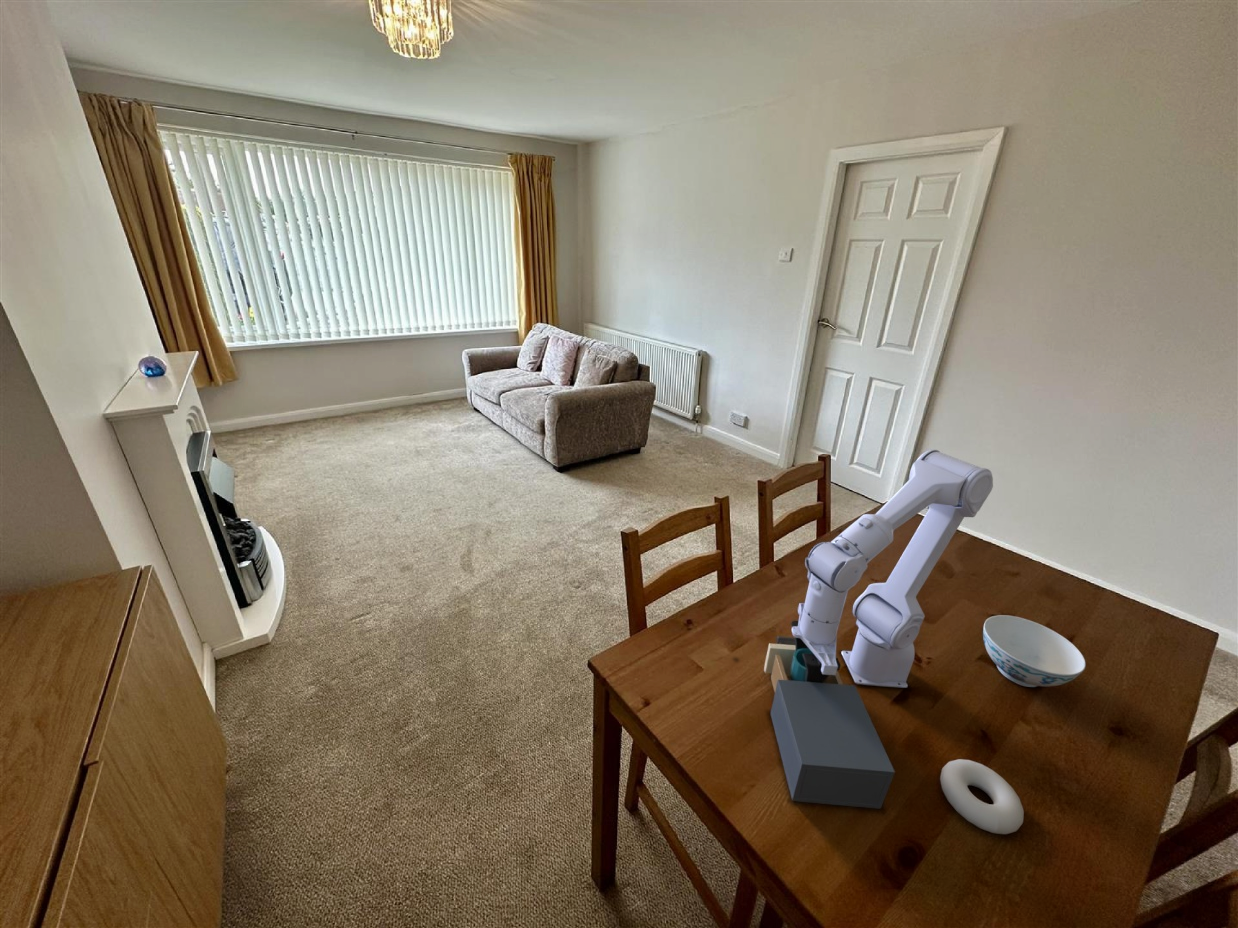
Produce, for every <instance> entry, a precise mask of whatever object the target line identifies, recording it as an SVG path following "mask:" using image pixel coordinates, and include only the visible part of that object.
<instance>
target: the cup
mask: <svg viewBox="0 0 1238 928" xmlns="http://www.w3.org/2000/svg"><path fill="white" fill-rule="evenodd" d="M803 653H808V654H813V652H812V651H811V650H810V649H808V648H801V649H797V650H796V651H795V652H794V656H793V660H792V665H791V669H790V675H789V677H790V679H791V681H804V682H805V673H806V666H805V661H804V658H803V656H802V654H803Z"/></svg>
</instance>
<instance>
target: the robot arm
mask: <svg viewBox="0 0 1238 928" xmlns="http://www.w3.org/2000/svg"><path fill="white" fill-rule="evenodd" d="M993 488H994V478H993V473H992V471H991V469H989V468H986V467H980V466H978V465H975V464H972V463H970V462H967V461H965V460H962V459H959V458H956V457H954V456H951V455H948V454H945V453H944V452H941V451H940V450H937V449H934V448H932V449H931V448H930V449H928V450H926V451H924V452H923V453H922V454H920V455H919V456H918V457H917V459H916V460H915V461H914V462H913V463H912V465H911V468H910V471H909V476H908V480H907V481H906V482H905V483H904V485H902V486H901V488H899V490H898V491H896V493H894V495H893V496H892V497H891V498H889V499H888V501H886V502H885V504H884V505H882V507H881V508H880V509H879V510H878V511H876V513H864V514H862V515H861V516H860V517H859V518H858V519H857V520H855V521H854V522H853V523H852V524H850V525H849V526H848V527H847V528H845V529H844V530H843V531H842V532H841V533H840V534H838V535H836V537H835V538H834V539H832V540H831V541H822V542H819V543H816V544H815V545H814V546H813V548H811V550H810V551H809V553H808V556H807V557H805V560H804V566H805V568H806V569H807V576H806V578H807V580H808V581H809V583H808V587H807V591H806V594H805V600H804V603H803V602H799V604H798V607H797V614H798V615H799V616H798V620H792V621H791V622H790V625H791V634H792V636H793V637H794V638H795V647H796V650H797V649H801V648H808V649H810V650H811V651H812V652H813V654H808V653H803V654H802V656H803V658H804V661H805V666H806V673H805V682H817V683H823V682H824V681H825V679H826V678H827V677H828V676H829V675H836V671H840V670H841V663H840V660H839V658H838V657H837V637H838V636H837V634H838V630H839V626H840V622H841V618H842V615H843V611H844V607H845V603H846V600H847V596H848V593H849V590H851V589H852V588H854V587H855V586H856V585H857V584H858V583H859V581H860V580H861V578H862V577H863V574H864V573H865V572H866V571H867V569H868V568H869V566H868V563H870V562H871V561H872V560H873V559H874V558H875V557H876V556H878V555H879V554H880V553H881V552H882V551H884V550H885V549H886V548H887V547H888V546H890V545H891V544H892V543H893V542H894V531H895V530H897V529H898V528H899V527H901V526H902V525H904V524H905V523H906V522H908V521H910V520H911V519H912V518H913V517H916V515H918V514H919V513H920V512H922V511H923V510H925V509H926V508H927V507H929V508H928V510H927V512H926V513H925V515H924V517H923V518H922V520H921V522H920V524H919V526H918V527H917V529H916V530H915V531H914V534H913V536H912V537H911V538H910V541H909V543H908V544H907V546H906V547H905V549H904V551H903V552H902V555H901V556H900V558H899V560H898V561H897V563H896V565H895V566H894V568H893V569H892V571H891V573H890V574H889V576H888V578H887V580H886V582H875V583H871V584H868V586H867V587H866V589H865V590H864V591H863V592H862V593H861V594H860V595H859V596H858V597H857V598H856V599H855V601H854V603H853V606H852V615H853V617H854V618H855V619H856V622H855V625H856V626H857V627H858V629H857V633H856V636H855V640H854V643H853V646H852V648H851V649H852V650H842V651H840V652H841V655H842V658H843V660H844V662H845V664H846V666H847V669H848V671H849V673H850V675H851V677H852V679H853V682H854V683H855V684H856V685H860V686H861V685H862V686H873V687H874V686H876V687H887V688H902V689H907V688H908V686H909V685H908V683H907V681H908V677H909V675H910V672H911V670H912V666H913V663H914V660H915V655H916V654H915V653H916V652H915V644H914V642H915V640H917V637H918V635H919V633H920V630H921V629H920V628H921V627H922V624H923V622H924V619H925V617H926V615H925V613H924V611H923V609H922V607H921V605H920V603H919V601H918V598H917V596H918V594H919V593H920V591H921V589H922V587H924V584H925V582H926V581H927V579H928V578H929V576H930V574H931V573H932V571H933V569H934V568H935V566H936V565H937V563H938V561H939V560H940V558H941V556H942V555H943V553H944V551H945V550H946V548H947V547H948V546H949V544H950V541H951V540H952V539H953V537H954V535H955V534H956V532H957V530H958V528H959V527H960V525H961V524H962V522H963V520H964V519H965V518H975V517H976V515H977V514H978V512H980V510H981V509H982V507H983V505H984V504H985V502H986V500H987V498H988V497H989V496H990V494H991V492H992V490H993Z"/></svg>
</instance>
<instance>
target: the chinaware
mask: <svg viewBox="0 0 1238 928" xmlns="http://www.w3.org/2000/svg"><path fill="white" fill-rule="evenodd" d="M982 638H983V639H982V640H983V644H984V647H985V649H986V652H987V654H988V655H989V657H990V659H991V660H992V662H993V663H994V664H995V665H996V668H997V669H998V671H999V672H1000V673H1001V674H1002V675H1003V676H1004V677H1005V678H1007V679H1008V680H1009V681H1011V682H1012V683H1015V684H1017V685H1020V686H1023V687H1028V688H1036V687H1056V686H1062V685H1064V684H1067V683H1069V682H1071V681H1073V680H1075V679H1076V678H1077V677H1078V676H1080V675H1081V674H1082V673H1083V672H1084V671H1085V669H1086V666H1087V665H1086V663H1087V662H1086V659H1085V657H1084V655H1083V654H1082V653H1081V651H1080V649H1078V648H1077V647H1076V646H1075V645H1074V644H1073V643H1072V642H1071V641H1070V640H1068V639H1067V638H1066V637H1065V636H1063V635H1061V634H1059V633H1058V632H1056V631H1055V630H1053V629H1051V628H1049V627H1047V626H1045V625H1043V624H1040V623H1038V622H1036V621H1032V620H1030V619H1027V618H1024V617H1019V616H1016V615H1015V616H1014V615H1008V614H1007V615H1005V614H1003V615H1002V614H999V615H993V616H990V617H988V618H987V619H985V621H984V624H983V630H982Z"/></svg>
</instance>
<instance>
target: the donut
mask: <svg viewBox="0 0 1238 928" xmlns="http://www.w3.org/2000/svg"><path fill="white" fill-rule="evenodd" d="M939 781H940V785H941V790H942V792H943V794H944V796H945V798H946V800H947V802H948V803H949V804H950V805H951V806H952V807H953V809H954V810H955V811H956V812H957V813H958V814H959V815H960V816H961V817H963V818H964V819H965V820H966V821H967V822H969V823H971V824H972V825H974V826H976V827H977V828H979V829H980V830H982V831H983V830H984V831H985V832H989V833H992V834H998V835H1008V834H1012V833H1014V832H1017V831H1018V830H1019V829H1020V827H1021V826H1022V825H1023V823H1024V817H1025V816H1024V814H1025V811H1024V808H1023V805H1022V801H1021V799H1020V797H1019V796H1018V794H1017V793H1016V791H1015V789H1014V788H1013V787H1012V786H1011V785H1010V784H1009V783H1008V782H1007V781H1006V780H1005V779H1004V778H1003V776H1001V775H999V774H998V773H997V772H996V771H995V770H993V769H991V768H989V767H988V766H986V765H984V764H983V763H980V762H976V761H973V760H970V759H963V758H962V759H961V758H958V759H955V760H950V761H948V762H947V763H946V764H945V765H944V766H943V767H942V769H941V772H940V777H939ZM968 786H973V787H975V788H977V789H980V790H981V791H982V792H984V793H985V794H986V795H987V796H988V797H989V798H990V799H991V801H992V802H993V803H992V804H989V803H987V802H984V801H983V800H981V799H979V798H977V797H976V796H975V795H974V794H973V793H972V792H971V790H970V789H969V787H968Z"/></svg>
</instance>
